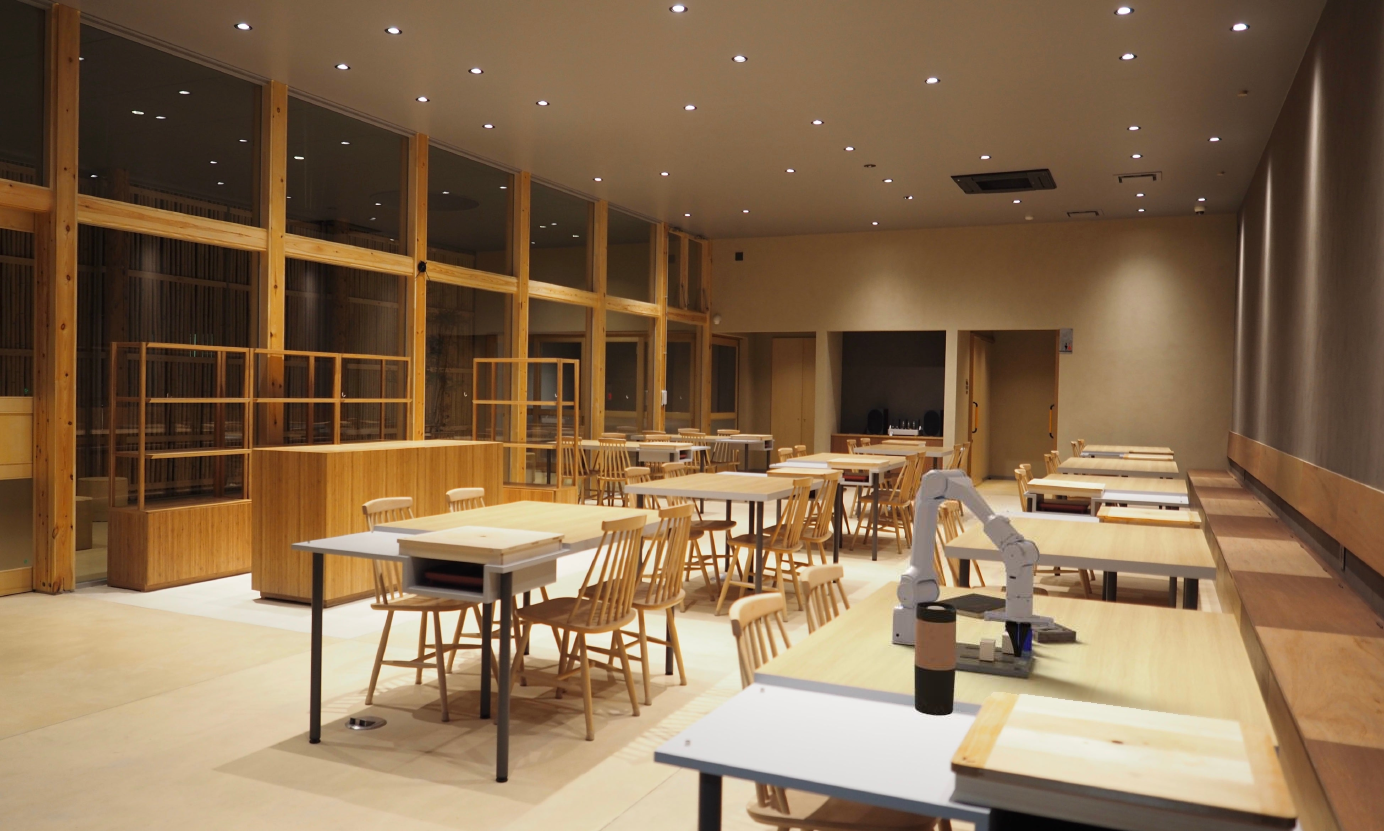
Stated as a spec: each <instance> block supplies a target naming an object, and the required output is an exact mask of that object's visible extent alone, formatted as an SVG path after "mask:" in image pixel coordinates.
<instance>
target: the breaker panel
mask: <svg viewBox="0 0 1384 831" xmlns="http://www.w3.org/2000/svg"><path fill="white" fill-rule="evenodd" d="M979 653H980V644H974V643H973V644H972V643H968V642H967V643H963V642H957V641H956V667H955V671H956V670H958V671H964V672H965V671H966V672H972V673H973V672H974V673H981V674H989V675H998V676H1004V677H1011V678H1012V677H1013V678H1022V679H1028V678H1029V673H1030V670H1031V666H1032V663H1033V659H1034V651H1033V650H1032V651H1028V650H1022V655H1021V658H1019V657H1014V654H1012V653H1003V652H1002V646H995V658H994V661H988V660H979Z"/></svg>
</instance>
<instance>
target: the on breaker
mask: <svg viewBox="0 0 1384 831" xmlns="http://www.w3.org/2000/svg"><path fill="white" fill-rule="evenodd" d="M1001 636H1002V637H1001V647H1002V652H1003V653H1012V654H1014V650H1013V646H1012V642H1011V639H1010V637H1009V634H1008V632H1005V630H1004V631H1003V633H1002V635H1001Z"/></svg>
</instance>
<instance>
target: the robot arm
mask: <svg viewBox="0 0 1384 831" xmlns="http://www.w3.org/2000/svg"><path fill="white" fill-rule="evenodd" d="M948 499H950V500H955V501H959V502H961V503H962V504H963V505H964V506H965V507H966V508H967V509H968V510H969V511H970V512H971V513H972V514H973V515H974V516H975V517H976V518H977V519H978V520H979V521H980V522H981V523H982V524H983V527H982V528H983V529H982V530H983V533H984V534H985V536H987V538H988V539H989V540H990V541H991V542H992V543H993V544H994V545H995V547H996V548H997V549H998V551H999V552H1001V553H1000V557H1001V561H1002V563H1003V564H1004V567H1005V573H1006V578H1005V579H1006V580H1005V581H1006V582H1005V586H1006V588H1005V599H1006V611H1004V612H993V611H985V616H984V617H983V618H984V619H983V620H984V622H996V623H997V622H999V623H1004V624H1005V623H1006V626H1005V625H1004V628H1005V629H1006V630H1007V632H1008V634H1009V637H1010V639H1011V642H1012V646H1013V650H1014V657H1019V658H1021V655H1022V649H1023V645H1024V642H1025V640H1026V638H1027V635H1028V634H1029V632H1030V630H1031V627H1032V625H1034V626H1044V627H1048V628H1053V627H1054V623H1055V618H1054V617H1049V616H1043V615H1037V614H1034V612H1033V609H1034V608H1033V606H1034V573H1035V572H1034V571H1035V570H1034V569H1035V565H1036V564H1037V563H1038V561H1039V559H1040V555H1041V554H1040V550H1039V547H1038V546H1037V545H1036V543H1035V542H1034V541H1033V540H1030V539H1026V538H1025V536H1024V535H1023V534H1020V532H1018V531H1017V529H1016V528H1015V527H1014V526H1013V525H1012V524H1011V521H1012V520H1010V518H1009V517H1007V516H1006V517H1005V516H1004V515H1002V514H1001V515H999V514H996V513H995V511H993V509H992V508H991V507H990V505H989V504H988V503H987V502H986V501H985V499H984V498H983V497H982V495H981V494H980V493H979V491H978V490H977V489H976V488H975V487H974V485H973V480H972V478H971V477H969V476H968V475H967V473H966V472H965V471H964V470H963V469H960V468H953V469H931V470H929V471H928V472H926V473H925V474H923V475H922V476H921V482H920V486H919V489H918V490H917V492H916V495H915V502H914V512H913V513H914V517H913V526H912V536H911V549H910V560H909V566H908V567H907V568H906V569H905V570H904V571H903V572H902V573H901V575H900V581H899V584H897V587H896V596H897V599H898V601H899V603H900V604H895V605H894V608H893V613H892V636H891V637H892V640H891V643H893V644H900V645H909V646H915V633H916V606H917V604H918V603H921V602H936V601H939V600H938V599H939V597H940V594H941V589H940V585H939V575H938V573H937V572H936V571H935V569H934V561H935V560H934V559H935V557H934V556H935V550H936V549H935V546H936V536H937V526H938V516H939V506H940V505H941V504H943V503H944V502H945V501H947V500H948ZM1019 624H1020V625H1019ZM1018 626H1019V644H1018Z"/></svg>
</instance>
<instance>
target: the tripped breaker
mask: <svg viewBox="0 0 1384 831" xmlns="http://www.w3.org/2000/svg"><path fill="white" fill-rule="evenodd" d="M979 645H980V653H979V660H988V661H994V658H995V647H996V639H995V638H988V637H987V638H986V637H981V638H980V640H979Z"/></svg>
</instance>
